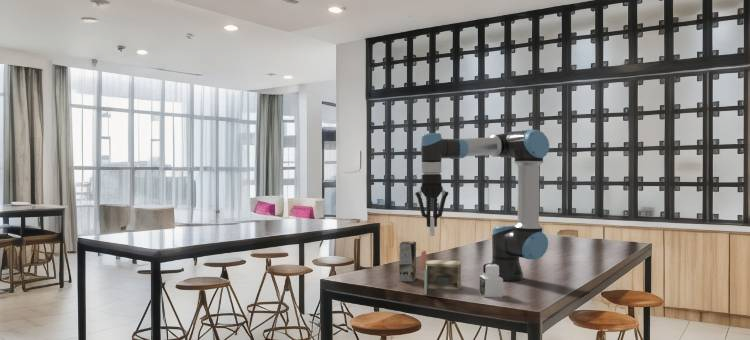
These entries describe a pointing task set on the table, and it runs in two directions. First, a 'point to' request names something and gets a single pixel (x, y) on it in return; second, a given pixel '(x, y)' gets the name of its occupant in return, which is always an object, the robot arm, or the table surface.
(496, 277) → the medicine bottle
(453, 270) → the cubby
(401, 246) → the coffee box
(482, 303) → the table surface
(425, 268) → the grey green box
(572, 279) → the table surface
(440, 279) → the cartridge
